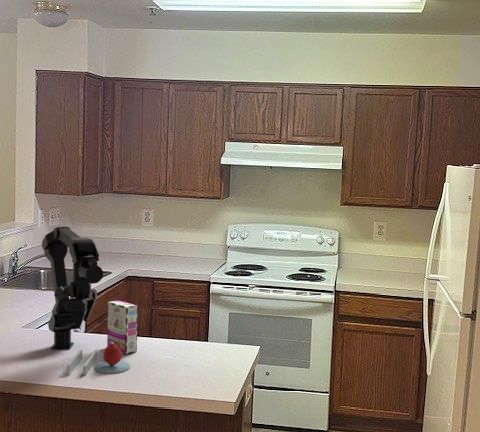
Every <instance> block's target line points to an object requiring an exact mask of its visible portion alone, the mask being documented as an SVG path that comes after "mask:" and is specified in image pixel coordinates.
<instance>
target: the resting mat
mask: <svg viewBox="0 0 480 432" xmlns="http://www.w3.org/2000/svg"><path fill="white" fill-rule="evenodd" d="M130 369H131V365H130V363H128V362H126V361H122V360H120V361H119V362H118V363H117V364H115V365H114V366H110V365H109V364H108V363H107V362H106V361H105V360H104V361H102V362H99V363H96V364H95V366H94V371H96V372H98V373H101V374H106V375H107V374H111V375H112V374H113V375H114V374H121V373H124V372H127V371H129V370H130Z"/></svg>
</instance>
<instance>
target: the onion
mask: <svg viewBox="0 0 480 432" xmlns="http://www.w3.org/2000/svg"><path fill="white" fill-rule="evenodd" d="M122 354H123V353H122V352H121V350H120V348H119V347H118V346H117V345H115V344H114V343H113V342H111V343H110V345H109V346H107V345H106V347H105V349H104V350H103V353H102V358H103V360H104V362H105V361H106V362H107V363H108V364H109V365H110V366H114V365H115V364H117V363H118V362H119V361H121V359H122V356H123V355H122Z"/></svg>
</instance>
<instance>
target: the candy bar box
mask: <svg viewBox="0 0 480 432" xmlns="http://www.w3.org/2000/svg"><path fill="white" fill-rule="evenodd" d="M138 309H139V308H138V305H137V304H133V303H130V302H127V301H122V300H117V299H116V300H112V301H108V302H107V335H106V336H107V338H106V339H107V340H106V344H107V345H106V347H107V346H109V345H110V343H111V342H113V343H114V344H115V345H117V346H118V347H119V348H120V350H121V352H122V354H125V355H130V354H133V353H137V351H138V315H139V314H138V313H139V312H138V311H139V310H138Z"/></svg>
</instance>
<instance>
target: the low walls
mask: <svg viewBox="0 0 480 432" xmlns="http://www.w3.org/2000/svg"><path fill="white" fill-rule="evenodd" d="M82 360H83V349H79V350H78V351H77V352H76V354H75V355H74V356H73V358H71V360H70V361H69V362H68V364H67V365H66V375H67V376H70V375H71V373H72V372H73V371H74V370H75V369H76V367H77V366H78V365H79V363H80V362H81V361H82ZM96 361H98V350H97V349H95V350H93V352H92V354H90V356H89V357H88V359H87V360H86V362H85V363H84V364H83V366H82V367H83V368H82V371H83V372H82V376H87V375H88V373H89V372H90V371H91V369H92V367H94V364H95V363H96Z"/></svg>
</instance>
